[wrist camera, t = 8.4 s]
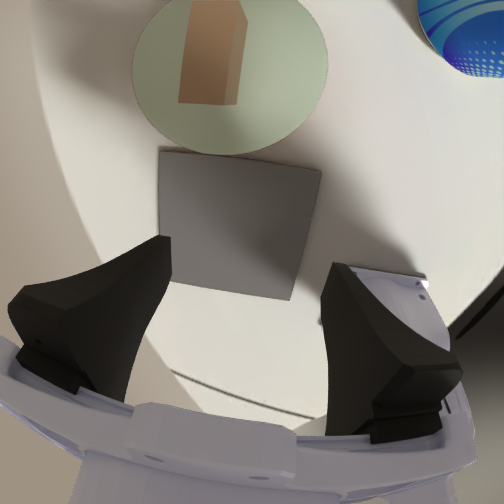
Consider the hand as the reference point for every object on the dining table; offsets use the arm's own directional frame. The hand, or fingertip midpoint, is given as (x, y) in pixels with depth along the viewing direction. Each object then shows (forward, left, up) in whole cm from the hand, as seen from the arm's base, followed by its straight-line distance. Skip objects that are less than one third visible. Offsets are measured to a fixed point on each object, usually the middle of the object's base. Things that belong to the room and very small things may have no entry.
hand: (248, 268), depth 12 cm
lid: (+3, -9, -6) cm, 11 cm away
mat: (+2, +3, -10) cm, 11 cm away
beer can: (-13, -18, -10) cm, 24 cm away
